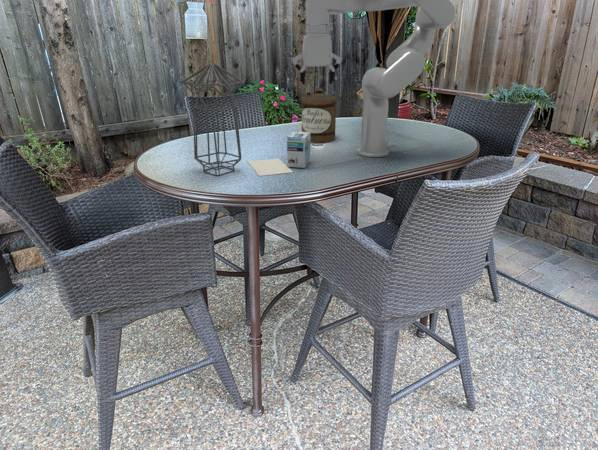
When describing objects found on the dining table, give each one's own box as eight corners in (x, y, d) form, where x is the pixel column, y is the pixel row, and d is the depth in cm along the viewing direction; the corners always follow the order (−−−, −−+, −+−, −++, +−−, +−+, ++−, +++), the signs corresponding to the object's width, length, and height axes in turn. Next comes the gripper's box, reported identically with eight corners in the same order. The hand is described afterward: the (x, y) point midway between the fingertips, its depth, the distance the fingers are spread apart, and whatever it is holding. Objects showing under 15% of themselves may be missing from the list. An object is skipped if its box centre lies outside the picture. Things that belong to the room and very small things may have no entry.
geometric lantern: (187, 171, 148) (176, 63, 134) (225, 163, 158) (218, 62, 145) (213, 181, 138) (204, 65, 124) (252, 171, 148) (247, 63, 134)
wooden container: (297, 141, 187) (296, 89, 177) (307, 134, 199) (307, 85, 190) (330, 144, 182) (331, 90, 173) (338, 136, 195) (340, 86, 186)
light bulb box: (305, 168, 150) (305, 137, 145) (286, 167, 151) (286, 136, 147) (310, 160, 159) (311, 131, 155) (292, 159, 161) (293, 130, 156)
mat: (278, 158, 161) (278, 158, 161) (293, 172, 146) (293, 171, 146) (247, 162, 158) (247, 161, 158) (259, 176, 142) (259, 175, 142)
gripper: (340, 30, 148) (339, 82, 155) (291, 30, 147) (291, 83, 154) (344, 30, 141) (343, 84, 148) (292, 30, 140) (293, 85, 147)
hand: (316, 83), depth 151 cm, fingers open, 9 cm apart
